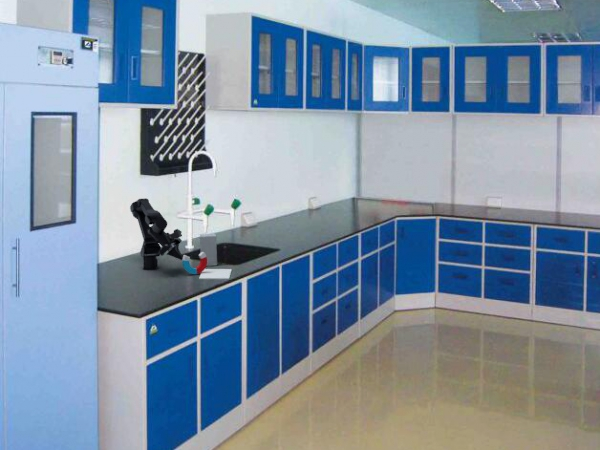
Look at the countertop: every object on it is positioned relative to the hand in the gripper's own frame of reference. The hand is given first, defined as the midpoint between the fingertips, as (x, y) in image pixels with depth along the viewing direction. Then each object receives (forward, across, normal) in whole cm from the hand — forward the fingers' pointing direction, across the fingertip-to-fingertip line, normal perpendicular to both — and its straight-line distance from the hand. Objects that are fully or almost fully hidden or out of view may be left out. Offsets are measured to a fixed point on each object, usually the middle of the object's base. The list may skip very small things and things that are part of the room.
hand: (182, 259), depth 369 cm
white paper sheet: (+16, +2, -6) cm, 18 cm away
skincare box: (+10, +23, +1) cm, 25 cm away
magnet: (+10, 0, 0) cm, 10 cm away
